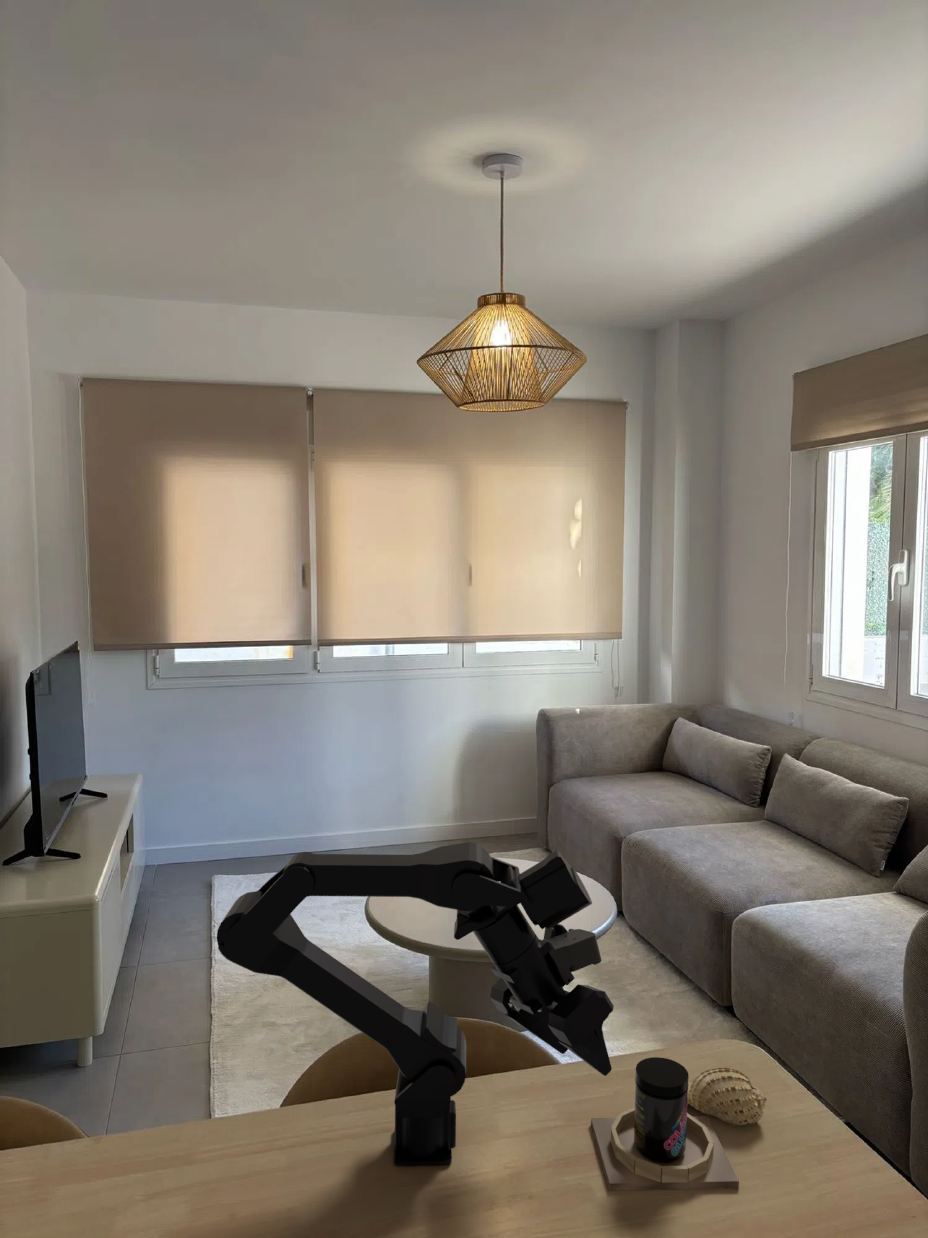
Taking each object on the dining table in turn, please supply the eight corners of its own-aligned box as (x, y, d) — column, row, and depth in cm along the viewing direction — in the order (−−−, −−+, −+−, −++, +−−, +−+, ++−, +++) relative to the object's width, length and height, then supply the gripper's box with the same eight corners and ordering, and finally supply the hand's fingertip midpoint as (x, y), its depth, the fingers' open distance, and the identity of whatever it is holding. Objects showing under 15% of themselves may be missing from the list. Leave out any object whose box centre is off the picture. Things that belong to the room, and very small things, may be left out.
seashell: (698, 1154, 107) (778, 1125, 106) (677, 1109, 107) (757, 1079, 106) (688, 1113, 115) (762, 1085, 114) (668, 1071, 115) (743, 1043, 114)
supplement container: (657, 1172, 99) (659, 1093, 98) (622, 1141, 104) (624, 1065, 103) (697, 1155, 102) (700, 1078, 101) (661, 1126, 107) (663, 1052, 106)
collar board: (609, 1190, 97) (610, 1170, 97) (590, 1124, 108) (591, 1106, 108) (738, 1188, 98) (739, 1168, 97) (707, 1122, 109) (707, 1104, 108)
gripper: (608, 911, 97) (683, 1031, 98) (527, 894, 113) (591, 996, 114) (533, 982, 92) (612, 1107, 93) (460, 952, 109) (527, 1059, 110)
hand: (585, 1061), depth 103 cm, fingers open, 9 cm apart
